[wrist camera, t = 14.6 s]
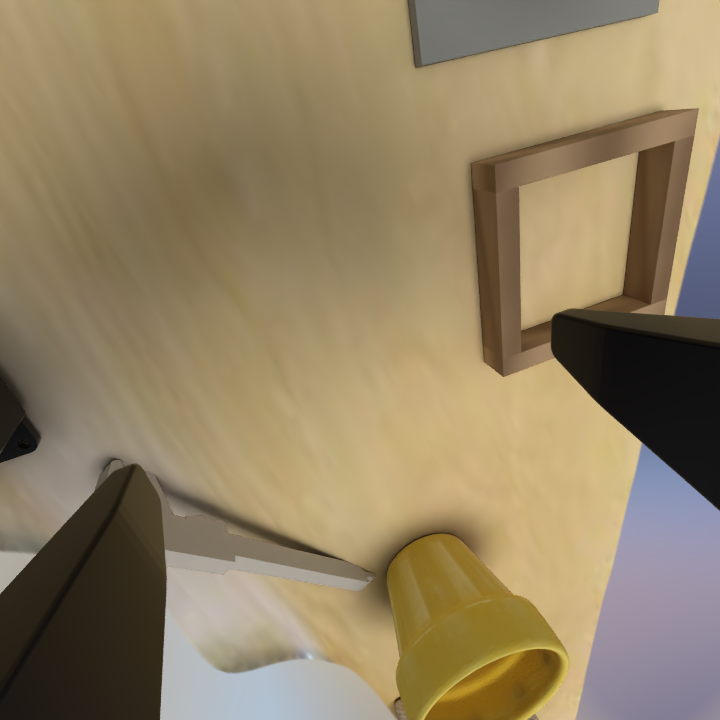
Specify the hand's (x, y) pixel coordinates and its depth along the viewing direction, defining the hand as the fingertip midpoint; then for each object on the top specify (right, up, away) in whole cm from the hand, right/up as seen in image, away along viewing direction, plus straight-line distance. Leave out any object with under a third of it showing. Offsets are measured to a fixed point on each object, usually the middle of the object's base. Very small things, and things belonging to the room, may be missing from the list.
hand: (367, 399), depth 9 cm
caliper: (-6, -10, +19) cm, 22 cm away
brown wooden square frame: (+12, +7, +16) cm, 21 cm away
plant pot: (+5, -15, +25) cm, 29 cm away
